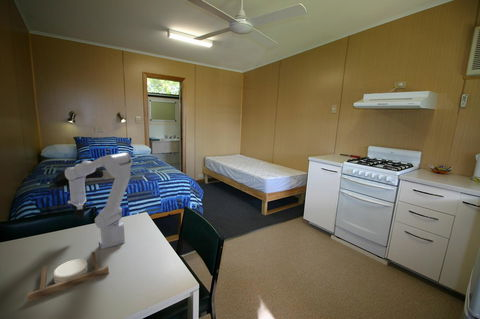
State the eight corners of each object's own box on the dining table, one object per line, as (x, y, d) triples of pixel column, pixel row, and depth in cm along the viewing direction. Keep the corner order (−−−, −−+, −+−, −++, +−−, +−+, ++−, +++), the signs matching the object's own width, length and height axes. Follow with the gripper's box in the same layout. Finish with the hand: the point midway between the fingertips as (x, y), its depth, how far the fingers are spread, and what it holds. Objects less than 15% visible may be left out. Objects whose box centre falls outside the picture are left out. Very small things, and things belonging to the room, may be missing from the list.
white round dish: (85, 262, 87) (84, 255, 86) (90, 276, 80) (89, 268, 79) (53, 274, 80) (52, 265, 79) (55, 290, 73) (53, 281, 72)
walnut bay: (103, 254, 92) (102, 249, 92) (108, 273, 81) (108, 267, 81) (32, 276, 78) (31, 270, 78) (28, 302, 67) (27, 295, 67)
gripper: (66, 188, 103) (69, 214, 106) (67, 197, 92) (70, 226, 95) (84, 186, 108) (86, 211, 110) (87, 194, 97) (89, 222, 99)
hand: (80, 218), depth 103 cm, fingers closed
